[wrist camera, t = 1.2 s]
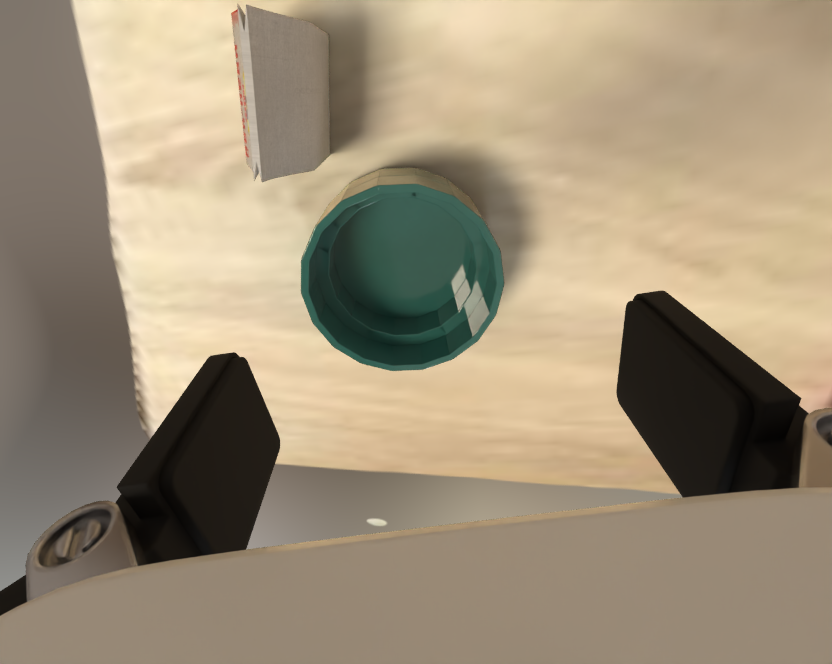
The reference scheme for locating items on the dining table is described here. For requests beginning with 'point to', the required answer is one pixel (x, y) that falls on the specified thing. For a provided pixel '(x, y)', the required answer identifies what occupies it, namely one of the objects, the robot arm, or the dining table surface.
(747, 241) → the dining table surface
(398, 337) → the teal faceted bowl
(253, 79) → the white juice carton
